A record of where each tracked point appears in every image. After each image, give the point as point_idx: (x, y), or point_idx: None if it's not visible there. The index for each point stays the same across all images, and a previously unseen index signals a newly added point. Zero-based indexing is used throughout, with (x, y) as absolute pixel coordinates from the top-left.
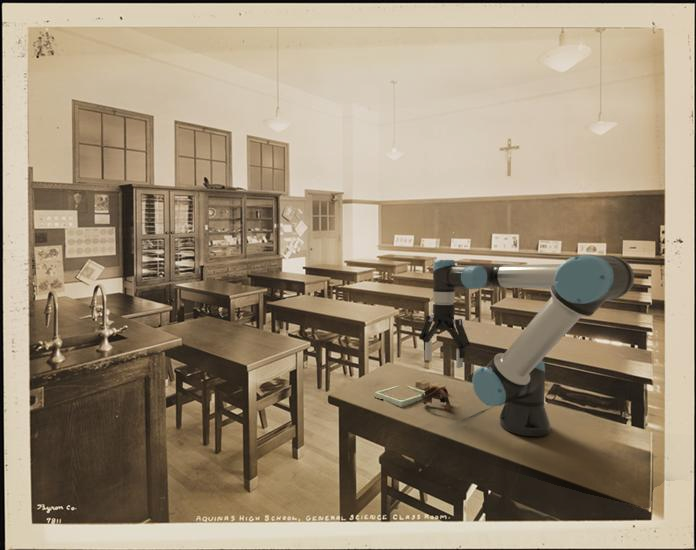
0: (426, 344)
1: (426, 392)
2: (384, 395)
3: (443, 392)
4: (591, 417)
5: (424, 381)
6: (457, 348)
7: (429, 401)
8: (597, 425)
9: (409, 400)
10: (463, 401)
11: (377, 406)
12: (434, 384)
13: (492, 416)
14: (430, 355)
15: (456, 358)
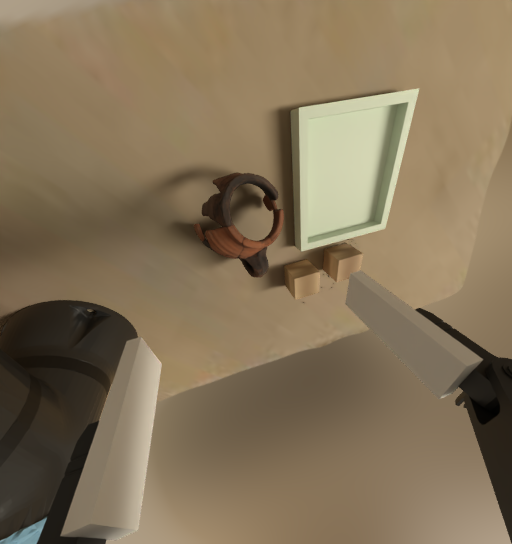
0: (450, 350)
1: (276, 214)
2: (377, 99)
3: (219, 243)
4: None
5: (347, 273)
6: (98, 525)
7: (220, 178)
8: None
9: (297, 158)
10: (237, 297)
11: (349, 23)
12: (317, 281)
13: (125, 301)
14: (361, 313)
15: (123, 396)
